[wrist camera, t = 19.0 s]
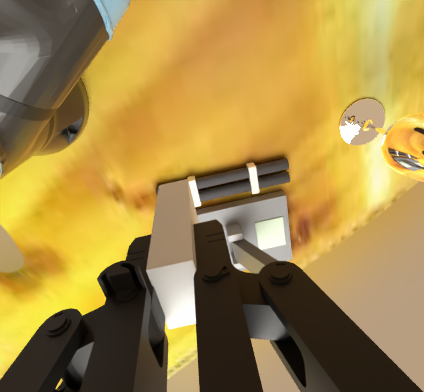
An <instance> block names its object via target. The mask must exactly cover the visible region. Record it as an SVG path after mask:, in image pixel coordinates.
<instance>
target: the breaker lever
mask: <svg viewBox="0 0 424 392" xmlns="http://www.w3.org/2000/svg"><path fill="white" fill-rule="evenodd" d="M232 245H233V250H234V255H235V258H236V261H237V262H238V263H240V264H241V265H242V266H243V267H245V268H246V269H247V270H249V271H250V272H251V273H259V272H260V270H261V269H262V268H263V267H264V266H265V265H267V264H269V263H271V262H275V261H278V260H276V259H275V258H273V257H272V256H270V255H268V254H267V253H265V252H264V251H262V250H261V249H259V248H258V247H256V246H255V245H253V244H251V243H250V242H248V241H247V240H245V239H244V238H243V239H242V240H237V241H233V242H232Z"/></svg>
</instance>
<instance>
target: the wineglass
mask: <svg viewBox="0 0 424 392" xmlns="http://www.w3.org/2000/svg"><path fill="white" fill-rule="evenodd" d="M384 122H385V111H384V109H383V106H382V105H381V104H380V103H379V102H378V101H376V100H373V99H362V100H359V101H357V102H355V103H353V104H352V105H350V106H349V107H348V108H347V109H346V111H345V112H344V114H343V116H342V117H341V120H340V125H339V131H340V135H341V137H342V139H343V140H344V141H345V142H346V143H348V144H350V145H354V146H360V145H364V144H367V143H369V142H370V141H372V140H373V139H374V138H376V137H377V136H378V134H379V133H382V134H384V137H383V139H382V156H383V158H384V160H385V161H386V163H387V164H388V165H389V167H391V168H392V169H393V170H395V171H396V172H398V173H400V174H402V175H404V176H407V177H410V178H412V179H415V180H419V181H423V182H424V112H423V113H414V114H410V115H407V116H404V117H402V118H401V119H399V120H398V121H396V122H395V123H393V124H392V125H391V126H390V127H389V128H388V130H386V129H383V125H384Z"/></svg>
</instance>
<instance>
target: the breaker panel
mask: <svg viewBox="0 0 424 392" xmlns="http://www.w3.org/2000/svg"><path fill="white" fill-rule="evenodd" d="M196 213H197V216H198V220H199V223H201V222H206V221H210V220H215V219H216V220H218V221H219V222H220V223H221V224H222V225H223V229H224V233H225V238H226V242H227V246H228V250H229V254H230V258H231V262H232V264H233V266H234V267H235V268H236V269H238V270H240V271H243V270H247V269H246V268H245V267H243V266H242V265H241V264H240V263H238V262H237V261H236V258H235V255H234V250H233V245H232V242H233V241H237V240H242V239H243V238H244V239H245V240H247V241H248V242H250V243H251V244H253V245H255V246H256V247H258V248H259V249H261V250H262V251H264V252H265V253H267V254H268V255H270V256H272V257H273V258H275V259H276V260H278V261H288V260H292V251H291V241H290V231H289V220H288V210H287V200H286V195H285V193H284V192H283V190H282V191H277V192H273V193H269V194H264V195H260V196H255V197H251V198H246V199H242V200H237V201H233V202H228V203H224V204H219V205H215V206H210V207H206V208H201V209H197V210H196Z"/></svg>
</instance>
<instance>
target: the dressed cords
mask: <svg viewBox="0 0 424 392" xmlns="http://www.w3.org/2000/svg"><path fill="white" fill-rule="evenodd" d="M246 166H247V167H245V168H241V169H236V170H232V171H227V172H223V173H218V174H214V175H209V176H205V177H200V178H196V179H195V175H194V176H189V177H187V178H188V182H189V185H190V189H191V193H192V197H193V201H194V205H195V207H198V206H201V202H202V201H206V200H211V199H215V198H220V197H224V196H229V195H233V194H238V193H242V192H247V191H251V192H252V194H256V193H260V192H259V189H260V188H265V187H269V186H274V185H278V184H282V183H287V182H290V175H289V173H288V172H283V173H278V174H274V175H269V176H265V177H261V178H257V176H259V175H264V174H268V173H273V172H277V171H281V170H286V169H289V163H288V160H287V158H285V159H281V160H276V161H272V162H267V163H263V164H258V165H255V164H254V163H253V162H252V163H248V164H246ZM246 178H248V179H249V180H247V181H243V182H238V183H234V184H229V185H225V186H220V187H216V188H211V189H207V190H202V191H198V189H201V188H205V187H210V186H214V185H219V184H223V183H228V182H232V181H237V180H241V179H246ZM158 189H159V187H156V193H157V196H158Z"/></svg>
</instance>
